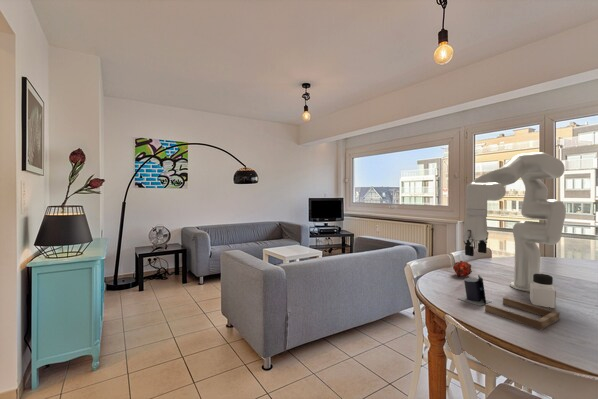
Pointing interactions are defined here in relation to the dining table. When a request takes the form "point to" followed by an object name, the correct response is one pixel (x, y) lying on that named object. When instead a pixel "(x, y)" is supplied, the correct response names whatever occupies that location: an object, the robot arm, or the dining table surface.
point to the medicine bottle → (542, 291)
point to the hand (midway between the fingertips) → (475, 254)
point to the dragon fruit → (462, 268)
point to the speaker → (475, 289)
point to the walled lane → (537, 323)
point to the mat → (474, 301)
